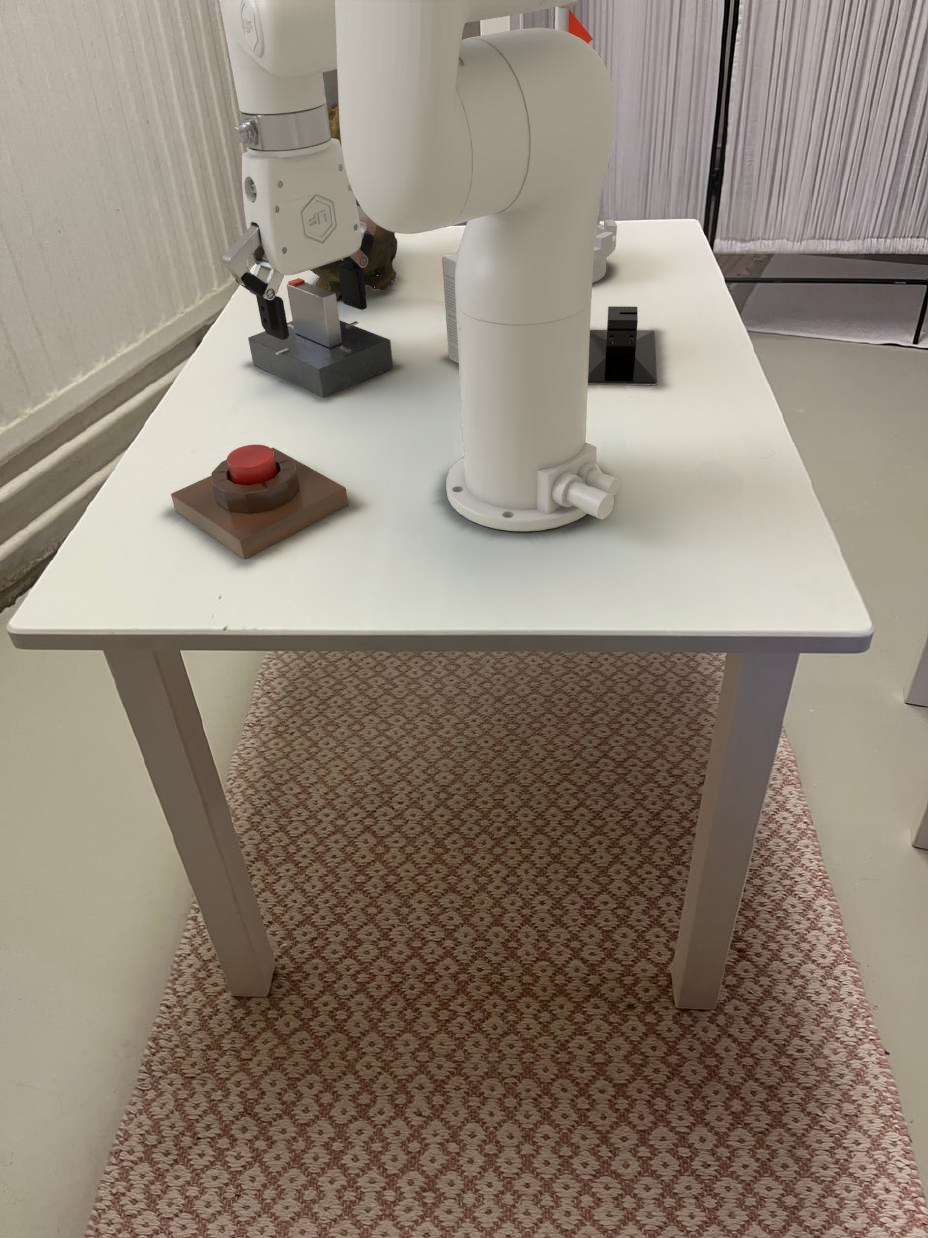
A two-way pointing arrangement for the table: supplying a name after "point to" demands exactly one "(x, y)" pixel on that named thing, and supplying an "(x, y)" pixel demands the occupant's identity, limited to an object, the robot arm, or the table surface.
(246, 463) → the button
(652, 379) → the black stand
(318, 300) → the grey rectangular block
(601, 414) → the table surface
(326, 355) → the dial switch base
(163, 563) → the table surface
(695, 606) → the table surface
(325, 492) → the button block
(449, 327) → the small box
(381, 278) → the pottery vessel
